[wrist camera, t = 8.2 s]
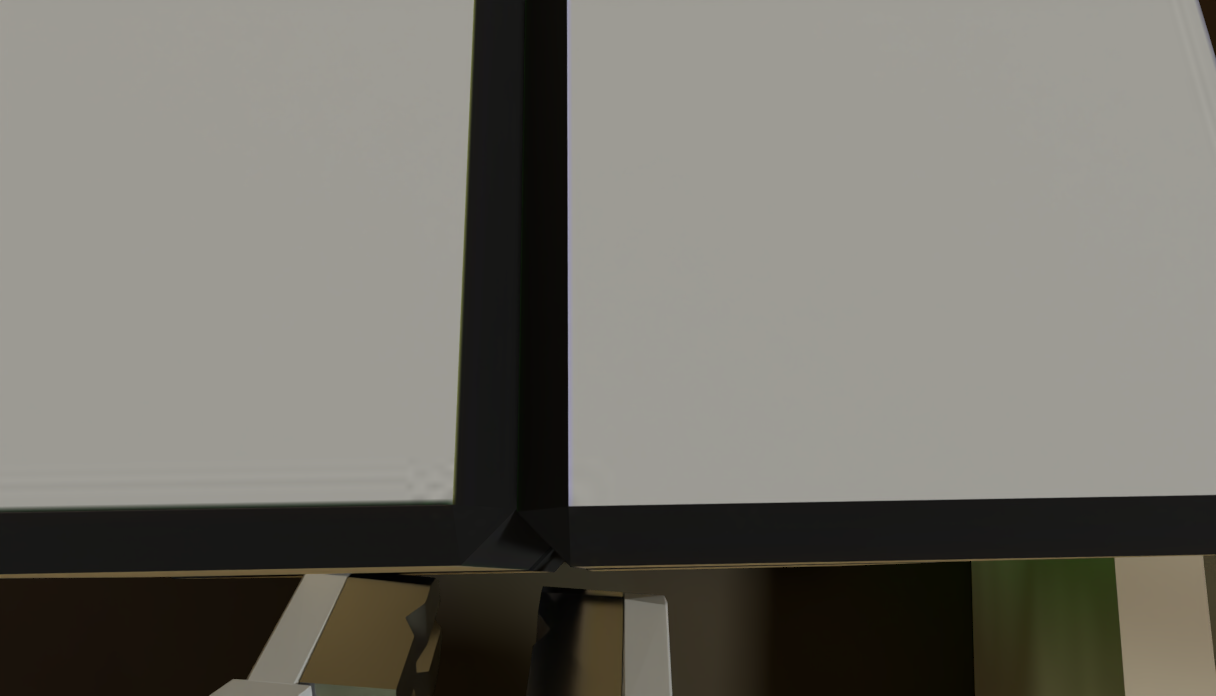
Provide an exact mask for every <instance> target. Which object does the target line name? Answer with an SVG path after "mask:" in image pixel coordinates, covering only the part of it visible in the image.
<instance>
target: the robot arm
mask: <svg viewBox="0 0 1216 696" xmlns="http://www.w3.org/2000/svg"><path fill="white" fill-rule="evenodd" d="M439 604H440V587H439V580H437V579H436V578H430V577H421V576H412V575H403V574H394V573H340V574H304V575H303V577H302V579H301V581H300V583H299V584H298V586H297V588H296V590H295V592H294V593H293V595H292V597H291V599H290V601H289V603H288V604H287V606H286V608H285V610H284V612H283V613H282V615H281V617H280V619H279V621H278V623H277V624H276V626H275V628H274V630H273V632H272V634H271V635H270V637H269V639H268V641H267V643H266V644H265V646H264V648H263V650H262V652H261V654H260V655H259V657H258V659H257V661H256V663H255V664H254V666H253V668H252V670H251V672H250V674H249V675H248V677H247V679H246V680H242V679H232V680H231V681H229V682H228V683H226V684H225V685H223V686H222V687H220V688H219V689H218V690H216V691H215V692H213V693H212V694H210V695H209V696H433V694H434V691H435V687H436V682H437V676H438V670H439V664H440V656H441V643H442V639H441V626H440V625H439V624H438V623H437V622H436V621H435V617H436V614H437V611H438V607H439ZM526 696H672V682H671V663H670V644H669V626H668V607H667V601H666V599H665V597H664V595H651V594H638V593H624V594H623V593H622V592H612V591H598V590H585V589H571V588H558V587H544V586H543V589H542V592H541V598H540V604H539V610H538V622H537V638H536V644H535V645H534V646H533V650H532V657H531V664H530V671H529V678H528V685H527V692H526Z"/></svg>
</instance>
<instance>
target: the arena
mask: <svg viewBox="0 0 1216 696" xmlns="http://www.w3.org/2000/svg"><path fill="white" fill-rule="evenodd" d="M971 570H972V607H973V643H974V679H975V696H1216V672H1215V663H1214V654H1213V645H1212V635H1211V626H1210V617H1209V608H1208V599H1207V590H1206V581H1205V572H1204V563H1203V555H1198V556H1157V557H1116V558H1075V559H1034V560H993V561H971Z"/></svg>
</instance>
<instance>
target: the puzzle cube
mask: <svg viewBox="0 0 1216 696" xmlns="http://www.w3.org/2000/svg"><path fill="white" fill-rule="evenodd" d="M1198 555H1216V57H1215V53H1214V50H1213V47H1212V44H1211V40H1210V37H1209V34H1208V30H1207V27H1206V24H1205V20H1204V17H1203V14H1202V10H1201V7H1200V4H1199V0H0V578H112V577H172V578H173V579H199V578H292V577H303V575H304V574H340V573H394V574H403V575H440V574H486V573H533V572H555V571H556V570H557V569H558V568H559V566H560V565H561V564H562V563H563V562H564V561H566V562H567V563H568V564H569V565H570V567H576V568H586V569H587V570H589V571H626V570H672V569H719V568H765V567H812V566H849V565H877V564H906V563H934V562H950V561H993V560H1034V559H1075V558H1116V557H1157V556H1198Z"/></svg>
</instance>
